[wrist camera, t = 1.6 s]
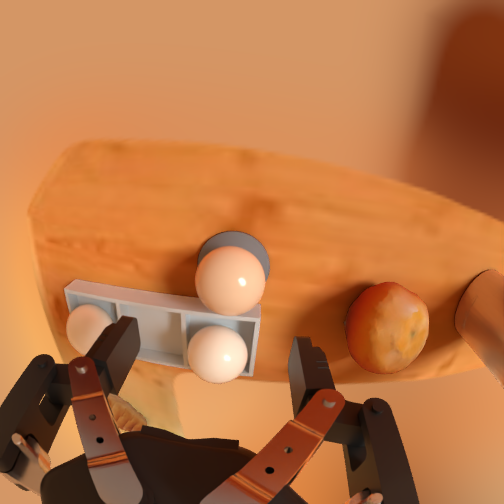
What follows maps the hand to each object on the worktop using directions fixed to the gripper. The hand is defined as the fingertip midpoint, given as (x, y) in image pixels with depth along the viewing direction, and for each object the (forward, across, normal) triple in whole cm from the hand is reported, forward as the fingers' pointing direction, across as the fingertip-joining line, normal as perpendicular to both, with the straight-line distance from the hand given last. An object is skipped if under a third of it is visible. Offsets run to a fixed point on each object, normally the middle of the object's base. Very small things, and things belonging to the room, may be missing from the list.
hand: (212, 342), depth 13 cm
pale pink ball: (+8, 0, 0) cm, 8 cm away
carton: (+11, +7, +7) cm, 15 cm away
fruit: (+11, -14, +4) cm, 18 cm away
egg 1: (+7, +13, +7) cm, 17 cm away
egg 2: (+7, 0, +7) cm, 10 cm away
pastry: (+11, +15, +24) cm, 31 cm away
